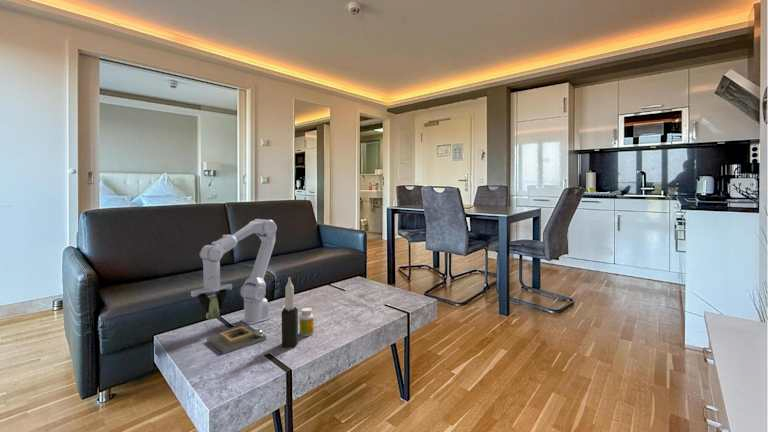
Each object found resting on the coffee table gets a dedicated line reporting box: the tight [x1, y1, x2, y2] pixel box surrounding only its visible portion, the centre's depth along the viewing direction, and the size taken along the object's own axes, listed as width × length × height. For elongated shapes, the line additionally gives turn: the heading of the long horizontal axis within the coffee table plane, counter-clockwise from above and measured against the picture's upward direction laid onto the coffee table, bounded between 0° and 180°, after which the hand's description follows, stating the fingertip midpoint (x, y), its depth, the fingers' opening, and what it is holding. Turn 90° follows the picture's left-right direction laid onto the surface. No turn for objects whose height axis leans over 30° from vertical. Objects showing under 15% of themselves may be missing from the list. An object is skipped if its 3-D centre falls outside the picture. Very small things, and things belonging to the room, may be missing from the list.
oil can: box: [205, 292, 221, 320], centre depth 133 cm, size 5×5×10 cm
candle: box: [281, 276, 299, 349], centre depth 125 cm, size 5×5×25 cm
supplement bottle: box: [299, 307, 315, 337], centre depth 136 cm, size 5×5×10 cm
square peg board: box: [206, 325, 267, 355], centre depth 128 cm, size 16×14×4 cm
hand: (212, 310), depth 133 cm, fingers closed on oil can, 5 cm apart
